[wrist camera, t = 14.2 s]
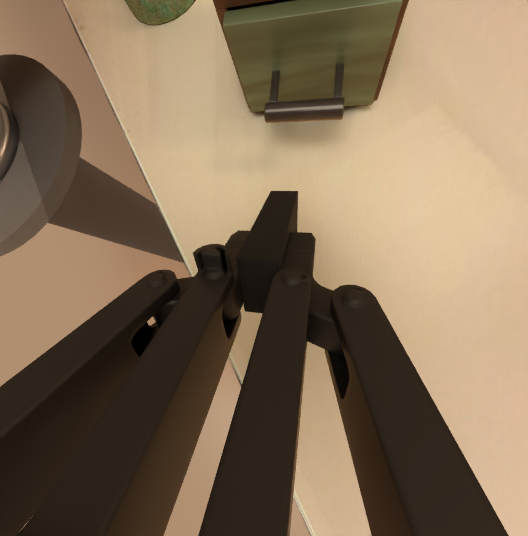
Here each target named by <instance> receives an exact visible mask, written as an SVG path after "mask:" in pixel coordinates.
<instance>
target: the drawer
mask: <svg viewBox="0 0 528 536" xmlns="http://www.w3.org/2000/svg"><path fill="white" fill-rule="evenodd" d="M402 2H403V0H275V1H268V2H262V3H256V4H249V5H243V6H240V9H237V10H231V11H225V13H224V20H223V29H224V32H225V35H226V38H227V41H228V44H229V47H230V50H231V53H232V56H233V59H234V62H235V65H236V68H237V71H238V74H239V77H240V80H241V83H242V86H243V89H244V92H245V95H246V99H247V102H248V105H249V108H250V111H251V112H258V111H264V116H265V121H266V123H277V122H297V121H317V120H337V119H342V118H343V112H344V106H356V105H372V103H373V99H374V96H375V92H376V89H377V86H378V82H379V79H380V76H381V72H382V69H383V65H384V62H385V59H386V55H387V52H388V49H389V45H390V42H391V39H392V35H393V32H394V28H395V25H396V22H397V18H398V15H399V12H400V8H401V5H402Z"/></svg>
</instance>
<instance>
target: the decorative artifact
mask: <svg viewBox="0 0 528 536" xmlns="http://www.w3.org/2000/svg"><path fill="white" fill-rule="evenodd" d="M194 1H195V0H125V2H126V3H127V5H128V7H129V8H130V10H131V11H132V13H133V14H134V16H135V17H136V18H137V19H138V20H139V21H141V22H143V23H146V24H151V25H157V24H163V23H166V22H169V21H171V20H173V19H175V18H177V17H178V16H180V15H181V14H183V13H184V12H185V11H186V10H187V9H188V8H189V7H190V6H191V5H192V3H193V2H194Z"/></svg>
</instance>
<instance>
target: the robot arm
mask: <svg viewBox="0 0 528 536" xmlns="http://www.w3.org/2000/svg"><path fill="white" fill-rule="evenodd" d="M18 142H19V129H18V123H17V120H16V118H15V115H14V114H13V112H12V111H11V110H10V109H9V108H8V107H7V106H6V105H4V104H2V103H1V102H0V182H1V181H2V179H3V178H4V177H5V175H6V174H7V172H8V170H9V169H10V167H11V165H12V163H13V161H14V158H15V155H16V152H17V148H18ZM297 210H298V191H271V192H270V194H269V196H268V198H267V200H266V202H265V204H264V205H263V207H262V209H261V211H260V213H259V215H258V217H257V219H256V221H255V223H254V225H253V227H252V229H251V230H250V231H239V230H238V231H237V232H236V233H234V234H233V235H231V237H230V238H229V240H228V241H227V243H226V245H225V246H224V245H220V244H210V245H206V246H202V247H200V248H198V249H197V250H196V251H195V252H193V255H194V258H195V261H196V265H197V268H198V272H197V274H196V275H195V276H194V277H189V278H181V279H177V278H176V276H175V273H174V272H172V271H170V270H157V271H155V272H152V273H150V274H148V275H146V276H145V277H143V278H142V279H141V280H139V281H138V282H137V283H135V284H134V285H133V286H131V287H130V288H129V289H128V290H126V291H125V292H124V293H122V294H121V295H120V296H118V297H117V298H116V299H115V300H113V301H112V302H111V303H109V304H108V305H107V306H105V307H104V308H103V309H101V310H100V311H99V312H97V313H96V314H95V315H93V316H92V317H91V318H90V319H89V320H87V321H86V322H84V323H83V324H82V325H80V326H79V327H78V328H77V329H75V330H74V331H73V332H71V333H70V334H69V335H67V336H66V337H65V338H63V339H62V340H61V341H59V342H58V343H57V344H56V345H54V346H53V347H52V348H50V349H49V350H48V351H46V352H45V353H44V354H43V355H41V356H40V357H39V358H37V359H36V360H35V361H33V362H32V363H31V364H29V365H28V366H27V367H25V368H24V369H23V370H22V371H20V372H19V373H18V374H16V375H15V376H14V377H12V378H11V379H10V380H8V381H7V382H6V383H5V384H3V385H2V386H1V387H0V536H163V535H164V532H165V530H166V527H167V524H168V521H169V518H170V516H171V513H172V510H173V507H174V505H175V502H176V499H177V496H178V494H179V491H180V488H181V486H182V483H183V480H184V477H185V474H186V471H187V469H188V466H189V463H190V461H191V458H192V455H193V452H194V450H195V447H196V444H197V441H198V438H199V436H200V433H201V430H202V427H203V425H204V422H205V419H206V416H207V414H208V411H209V408H210V405H211V403H212V400H213V397H214V394H215V392H216V389H217V386H218V383H219V381H220V378H221V375H222V372H223V370H224V367H225V364H226V361H227V359H228V356H229V353H230V350H231V347H232V345H233V342H234V339H235V336H236V334H237V331H238V328H239V325H240V323H241V312H240V310H241V307H242V305H243V303H244V309H245V311H248V312H256V313H263V314H262V318H261V321H260V325H259V328H258V332H257V335H256V339H255V342H254V345H253V349H252V352H251V356H250V359H249V363H248V366H247V370H246V373H245V377H244V380H243V383H242V387H241V390H240V394H239V397H238V401H237V404H236V408H235V411H234V415H233V418H232V421H231V425H230V428H229V432H228V436H227V439H226V442H225V446H224V449H223V453H222V456H221V459H220V463H219V466H218V470H217V473H216V477H215V480H214V484H213V487H212V491H211V494H210V498H209V501H208V504H207V508H206V511H205V515H204V518H203V522H202V525H201V529H200V532H199V536H289V535H290V534H289V533H290V524H291V513H292V502H293V491H294V480H295V469H296V458H297V447H298V436H299V425H300V414H301V403H302V392H303V381H304V370H305V359H306V348H307V341H308V342H310V343H312V344H315V345H317V346H319V347H321V348H323V349H325V354H326V358H327V362H328V366H329V370H330V374H331V378H332V381H333V385H334V389H335V393H336V397H337V401H338V405H339V409H340V413H341V417H342V421H343V425H344V429H345V432H346V436H347V440H348V444H349V448H350V452H351V456H352V460H353V464H354V468H355V472H356V476H357V479H358V483H359V487H360V491H361V495H362V499H363V503H364V507H365V511H366V515H367V519H368V523H369V527H370V530H371V534H372V536H508V534H507V532H506V530H505V529H504V527H503V525H502V523H501V521H500V520H499V518H498V516H497V514H496V512H495V511H494V509H493V507H492V505H491V503H490V502H489V500H488V498H487V496H486V495H485V493H484V491H483V489H482V487H481V486H480V484H479V482H478V480H477V478H476V477H475V475H474V473H473V471H472V469H471V468H470V466H469V464H468V462H467V460H466V459H465V457H464V455H463V453H462V451H461V450H460V448H459V446H458V444H457V443H456V441H455V439H454V437H453V435H452V434H451V432H450V430H449V428H448V426H447V425H446V423H445V421H444V419H443V417H442V416H441V414H440V412H439V410H438V408H437V407H436V405H435V403H434V401H433V399H432V398H431V396H430V394H429V392H428V390H427V389H426V387H425V385H424V383H423V382H422V380H421V378H420V376H419V374H418V373H417V371H416V369H415V367H414V365H413V364H412V362H411V360H410V358H409V356H408V355H407V353H406V351H405V349H404V347H403V346H402V344H401V342H400V340H399V338H398V337H397V335H396V333H395V331H394V330H393V328H392V326H391V324H390V322H389V321H388V319H387V317H386V315H385V313H384V312H383V310H382V308H381V306H380V304H379V303H378V301H377V299H376V297H375V296H374V295H373V294H372V293H371V292H370V291H368V290H367V289H365V288H363V287H360V286H357V285H344V286H340V287H338V288H337V289H335V290H334V291H333V290H330V289H327V288H325V287H322V286H321V285H319V284H318V283H317V282H316V281H315V280H314V278H313V267H314V253H315V238H314V236H313V235H312V233H300V232H297ZM152 316H153V317H154V319H155V321H156V322H155V323H154V324H153V325H151V326H149V325H148V323H147V321H148V320H149V319H150V318H151V317H152ZM31 517H32V518H31ZM30 518H31V519H30ZM29 519H30V520H29ZM27 522H28V523H27ZM26 523H27V524H26ZM25 524H26V525H25ZM24 525H25V527H24V528H23V526H24ZM22 528H23V529H22ZM21 529H22V530H21ZM20 530H21V531H20ZM19 531H20V532H19ZM18 532H19V533H18ZM17 533H18V534H17Z"/></svg>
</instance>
